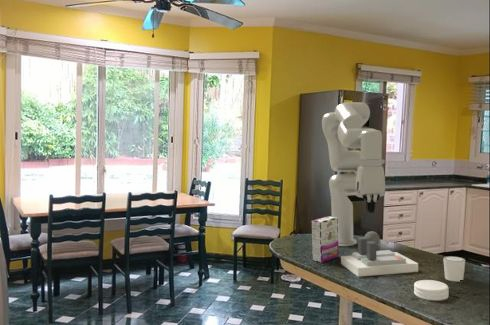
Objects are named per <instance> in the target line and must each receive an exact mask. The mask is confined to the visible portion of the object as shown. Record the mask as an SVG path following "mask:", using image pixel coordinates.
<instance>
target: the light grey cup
mask: <svg viewBox="0 0 490 325" xmlns="http://www.w3.org/2000/svg"><path fill="white" fill-rule="evenodd" d="M465 265H466V259H465V258H463V257H459V256H452V255H451V256H444V257H443V268H444V278H445V280H446V281H447V280H448V281H449V282H450V281H451V282H461V281H460V280H464V273H465Z"/></svg>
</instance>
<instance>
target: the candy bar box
mask: <svg viewBox="0 0 490 325" xmlns="http://www.w3.org/2000/svg"><path fill="white" fill-rule="evenodd" d="M311 244H312V245H311V247H312V248H311V249H312V252H311V253H312V261H313V260H314V261H313V262H317V261H318V263H324V262H327V261H331V260H333V259H336V258H339V256H340V255H339V246H338V218H336V217H332V215H331V216H324V217H321V218H317V219H314V220H311Z"/></svg>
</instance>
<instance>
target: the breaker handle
mask: <svg viewBox="0 0 490 325" xmlns="http://www.w3.org/2000/svg"><path fill="white" fill-rule="evenodd" d="M376 251H377V246H376V243H375V242H373V241H371V242H367V258H368V259H369V260H376Z"/></svg>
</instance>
